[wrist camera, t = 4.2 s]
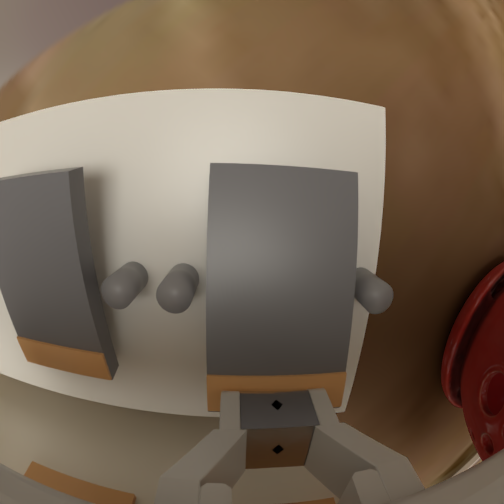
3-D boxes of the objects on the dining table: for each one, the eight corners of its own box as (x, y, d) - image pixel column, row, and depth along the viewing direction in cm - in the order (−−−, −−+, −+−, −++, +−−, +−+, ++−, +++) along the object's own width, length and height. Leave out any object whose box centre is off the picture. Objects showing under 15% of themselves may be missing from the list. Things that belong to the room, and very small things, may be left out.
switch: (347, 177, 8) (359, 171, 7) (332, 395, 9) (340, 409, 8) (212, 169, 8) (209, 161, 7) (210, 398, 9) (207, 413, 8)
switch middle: (83, 166, 7) (66, 171, 6) (119, 365, 10) (112, 382, 9) (-7, 179, 7) (-24, 185, 6) (38, 349, 9) (28, 363, 8)
